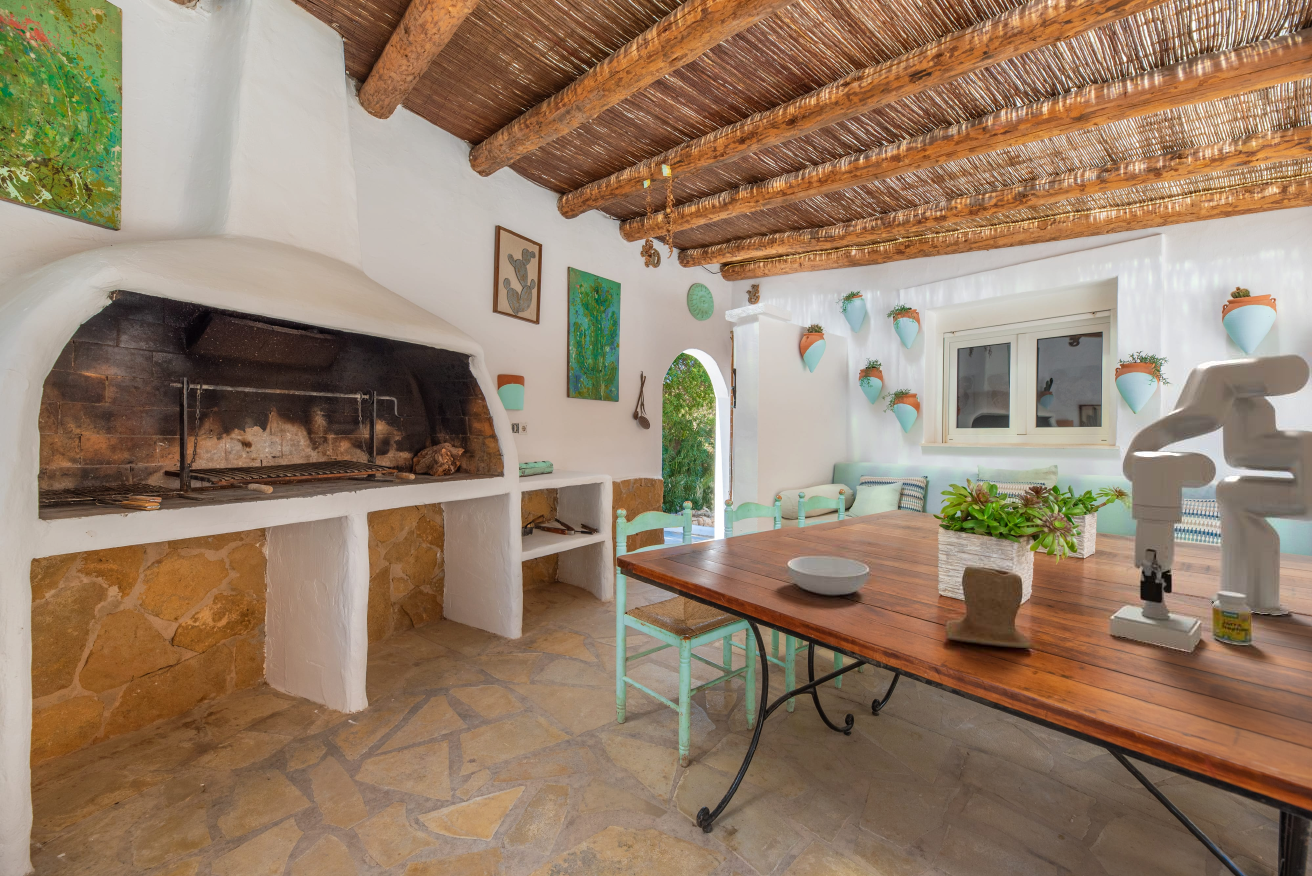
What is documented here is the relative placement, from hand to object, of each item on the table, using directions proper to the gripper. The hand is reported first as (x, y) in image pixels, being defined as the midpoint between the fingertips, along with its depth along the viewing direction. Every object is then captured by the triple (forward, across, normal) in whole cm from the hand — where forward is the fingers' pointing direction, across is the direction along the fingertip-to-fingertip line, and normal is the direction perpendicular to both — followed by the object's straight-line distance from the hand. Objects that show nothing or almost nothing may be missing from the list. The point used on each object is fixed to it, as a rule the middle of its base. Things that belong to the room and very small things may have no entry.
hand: (1156, 596), depth 110 cm
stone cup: (+8, +30, -21) cm, 38 cm away
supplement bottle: (+9, -8, +10) cm, 16 cm away
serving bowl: (+8, +25, -61) cm, 67 cm away
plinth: (+8, 0, 0) cm, 8 cm away
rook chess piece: (+4, 0, 0) cm, 5 cm away
